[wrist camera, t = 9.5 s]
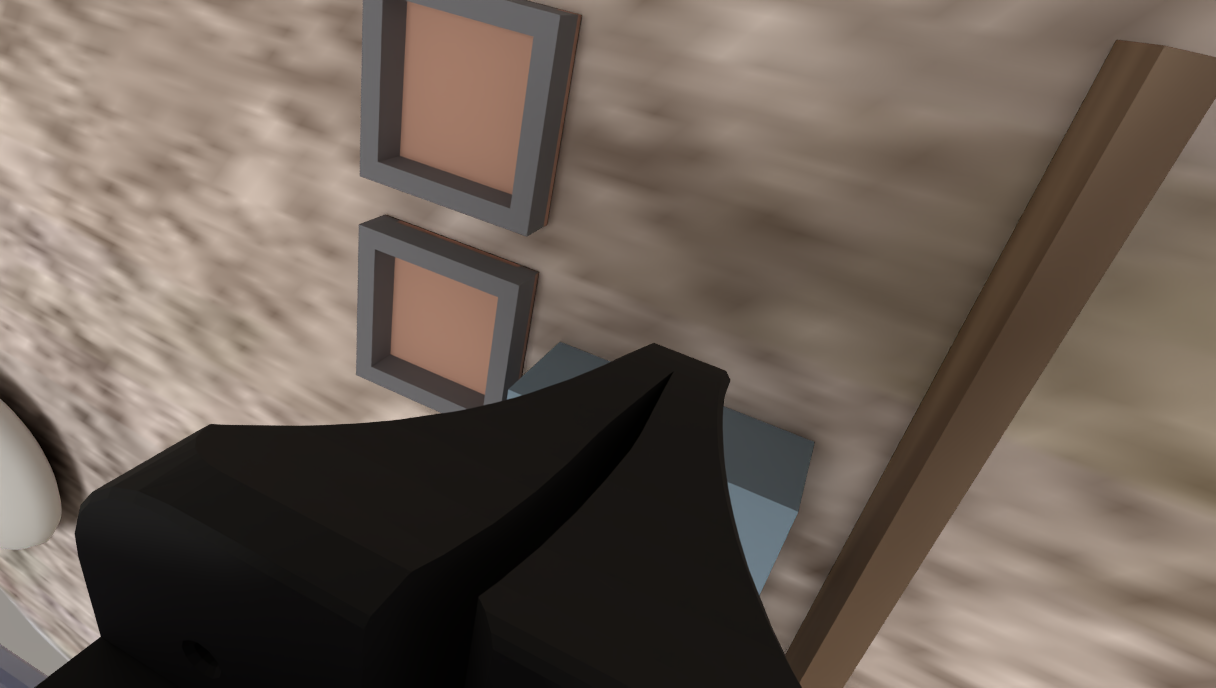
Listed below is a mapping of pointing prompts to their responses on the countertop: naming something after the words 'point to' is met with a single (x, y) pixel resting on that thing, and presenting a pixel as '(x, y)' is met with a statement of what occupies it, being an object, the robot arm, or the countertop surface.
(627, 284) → the countertop surface
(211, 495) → the robot arm
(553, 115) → the grey double frame
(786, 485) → the slate block
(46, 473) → the flower in vase
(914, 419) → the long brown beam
